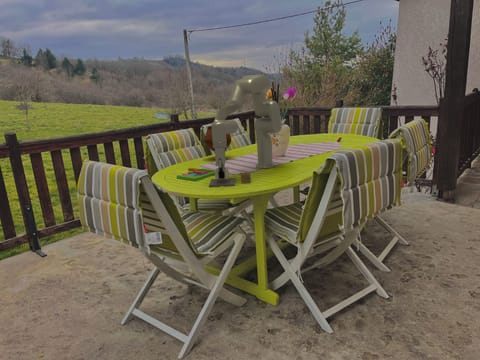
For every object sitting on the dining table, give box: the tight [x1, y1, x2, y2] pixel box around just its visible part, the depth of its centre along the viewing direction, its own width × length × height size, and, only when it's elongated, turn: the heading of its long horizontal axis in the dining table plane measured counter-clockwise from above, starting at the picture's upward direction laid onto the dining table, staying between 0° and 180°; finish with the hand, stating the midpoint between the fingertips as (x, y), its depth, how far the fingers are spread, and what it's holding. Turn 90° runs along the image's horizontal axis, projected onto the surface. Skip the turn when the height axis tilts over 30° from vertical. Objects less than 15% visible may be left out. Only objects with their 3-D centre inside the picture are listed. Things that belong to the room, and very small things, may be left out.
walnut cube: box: [240, 171, 252, 184], centre depth 205 cm, size 5×5×5 cm
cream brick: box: [214, 167, 230, 179], centre depth 205 cm, size 5×7×5 cm
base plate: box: [208, 177, 237, 188], centre depth 206 cm, size 14×14×1 cm
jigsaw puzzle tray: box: [176, 167, 215, 182], centre depth 231 cm, size 23×2×25 cm
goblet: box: [204, 125, 232, 161], centre depth 272 cm, size 19×19×25 cm
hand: (222, 176), depth 206 cm, fingers closed on cream brick, 5 cm apart
